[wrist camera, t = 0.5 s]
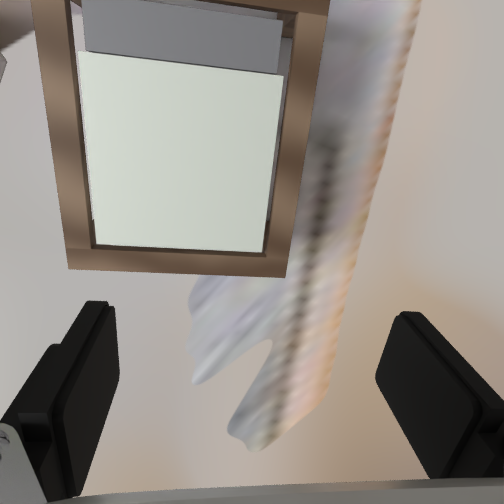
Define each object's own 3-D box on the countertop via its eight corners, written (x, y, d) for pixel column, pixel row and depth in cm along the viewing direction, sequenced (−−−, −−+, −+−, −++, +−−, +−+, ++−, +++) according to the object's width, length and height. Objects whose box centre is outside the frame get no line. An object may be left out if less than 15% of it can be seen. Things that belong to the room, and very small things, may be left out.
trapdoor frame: (82, -19, 28) (20, -72, 19) (299, 13, 31) (333, -21, 22) (103, 227, 38) (68, 269, 29) (269, 237, 40) (285, 277, 31)
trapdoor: (80, -4, 22) (71, -11, 21) (286, 25, 24) (290, 21, 23) (102, 237, 29) (96, 244, 28) (259, 245, 31) (261, 252, 30)
